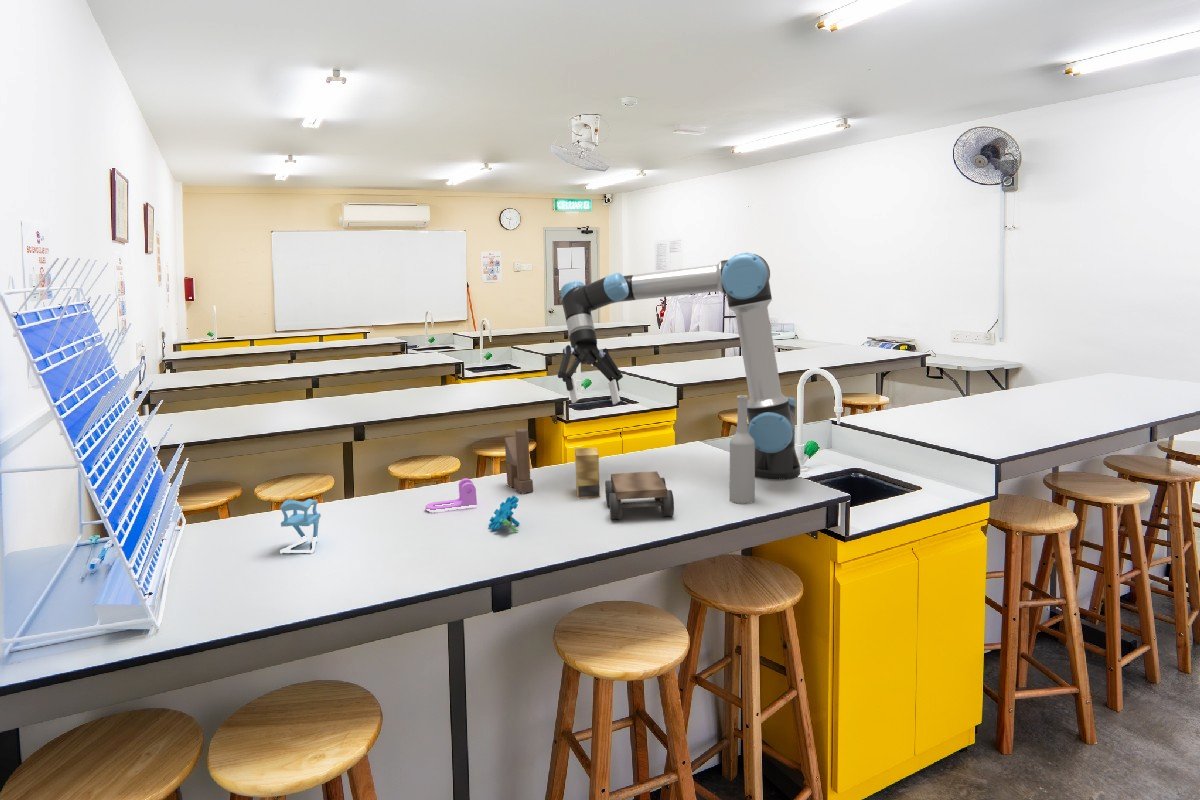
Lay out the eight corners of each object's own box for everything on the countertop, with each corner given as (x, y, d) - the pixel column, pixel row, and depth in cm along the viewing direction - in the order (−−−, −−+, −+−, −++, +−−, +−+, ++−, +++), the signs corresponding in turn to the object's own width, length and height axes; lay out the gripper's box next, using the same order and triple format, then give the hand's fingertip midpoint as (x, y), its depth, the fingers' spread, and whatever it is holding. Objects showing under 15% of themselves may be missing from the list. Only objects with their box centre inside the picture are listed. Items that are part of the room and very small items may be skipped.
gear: (486, 515, 184) (513, 487, 183) (503, 528, 186) (530, 501, 184) (486, 536, 173) (515, 507, 172) (505, 550, 175) (534, 521, 174)
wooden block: (518, 483, 216) (515, 423, 213) (533, 492, 207) (530, 429, 204) (506, 485, 214) (503, 424, 211) (521, 494, 205) (518, 431, 202)
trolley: (662, 497, 198) (662, 470, 197) (674, 519, 181) (673, 489, 180) (605, 500, 197) (604, 473, 196) (612, 522, 180) (611, 493, 179)
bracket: (473, 502, 200) (472, 477, 199) (477, 508, 195) (475, 483, 194) (424, 508, 196) (422, 483, 195) (427, 514, 191) (425, 489, 190)
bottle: (724, 498, 196) (724, 395, 191) (744, 494, 199) (744, 392, 194) (739, 505, 190) (740, 399, 185) (760, 501, 193) (760, 396, 188)
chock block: (597, 488, 208) (596, 447, 206) (599, 497, 200) (598, 454, 198) (576, 489, 208) (574, 448, 206) (577, 498, 200) (576, 456, 198)
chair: (327, 540, 174) (322, 491, 172) (312, 553, 166) (307, 502, 164) (295, 541, 175) (290, 492, 173) (279, 554, 167) (273, 503, 165)
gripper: (610, 342, 219) (625, 408, 212) (537, 336, 205) (550, 406, 198) (624, 330, 213) (640, 398, 206) (550, 323, 199) (564, 395, 192)
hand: (596, 402), depth 202 cm, fingers open, 13 cm apart
